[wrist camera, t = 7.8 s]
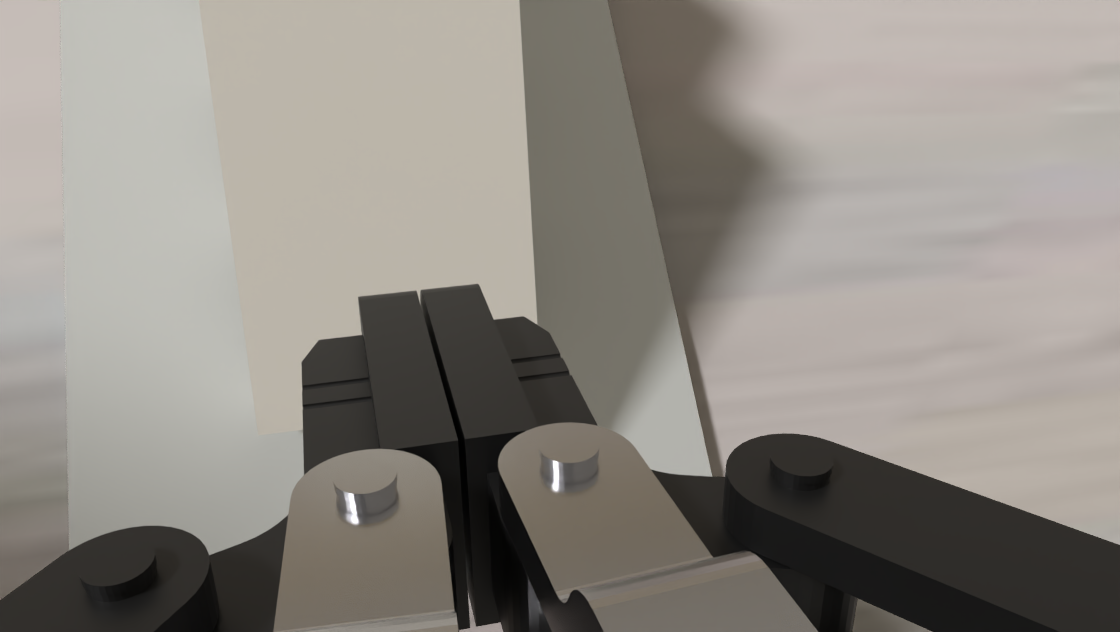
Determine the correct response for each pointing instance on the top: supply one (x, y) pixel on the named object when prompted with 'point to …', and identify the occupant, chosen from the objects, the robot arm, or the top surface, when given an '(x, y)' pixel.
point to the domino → (365, 166)
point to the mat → (212, 291)
